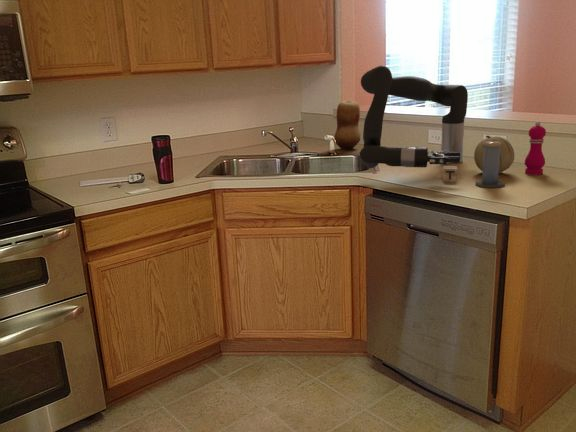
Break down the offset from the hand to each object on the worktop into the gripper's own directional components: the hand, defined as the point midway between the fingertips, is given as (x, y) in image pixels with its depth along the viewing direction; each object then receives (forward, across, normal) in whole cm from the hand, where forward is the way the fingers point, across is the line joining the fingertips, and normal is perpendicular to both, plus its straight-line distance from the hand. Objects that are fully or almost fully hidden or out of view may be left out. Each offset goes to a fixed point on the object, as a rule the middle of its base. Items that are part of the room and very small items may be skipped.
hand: (459, 157), depth 194 cm
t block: (-3, +7, +10) cm, 13 cm away
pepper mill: (+28, +21, +10) cm, 36 cm away
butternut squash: (-56, +76, +10) cm, 95 cm away
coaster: (+11, 0, +10) cm, 15 cm away
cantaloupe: (+13, +20, +10) cm, 26 cm away
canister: (+11, 0, +9) cm, 14 cm away
